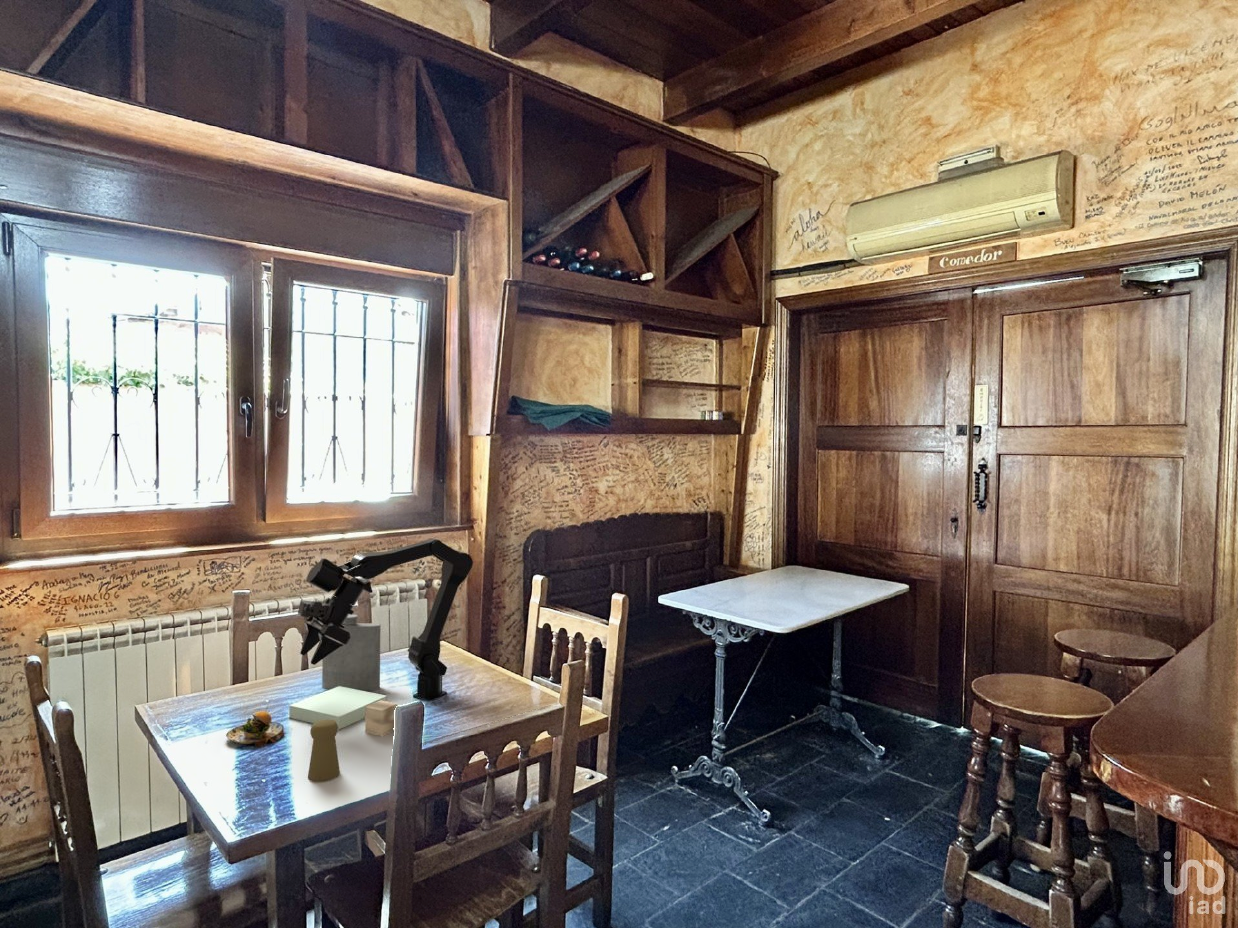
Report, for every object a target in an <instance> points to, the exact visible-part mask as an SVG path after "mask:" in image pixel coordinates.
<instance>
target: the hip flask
mask: <svg viewBox="0 0 1238 928" xmlns="http://www.w3.org/2000/svg"><path fill="white" fill-rule="evenodd" d="M358 619H359V618H358V614H354V613H353V614H352V615H351V614H349V615H348V617H347V618H346V620H345V621H344V623H343V626H345V627H344V629H345V630H347V631H348V632H349V633H350V636H351V638H350V640H349V641H348V643H347V645H346V644H343V643H342V644H343V646H342V647H339V648H338V649H336V650H335V651H333V652H332V653H330V654H329V655H328V656H326V657H325V658H323V659H322V660H321V661H322V663H321V664H322V665H321V666H322V667H321V668H322V669H321V670H322V673H321V674H322V675H321V676H322V677H321V679H322V680H321V685H322V686H321V688H323V689H328V690H331V689H333V688H336V687H338V686H341V687H346V688H351V689H356V690H361V691H377V690H379V689H380V688H381V623H377V622H376V623H367V622H365V623H364V622H362V623H361V622H358ZM357 622H358V623H357Z"/></svg>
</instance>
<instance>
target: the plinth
mask: <svg viewBox="0 0 1238 928" xmlns="http://www.w3.org/2000/svg"><path fill="white" fill-rule="evenodd" d="M380 700H382V701H386V702H388V696H387V695H384V694H379V693H375V692H371V691H370V692H369V691H367V690H356V689H351V688H346V687H341V686H338V687H336V688H333V689H328V690H326V691H323V692H321V693H317V694H315V695H313V696H310V697H307V698H305V699H302V700H300V701H296V702H294V703H292V704H289V706H288V707H289V709H288V710H289V715H288V718H290V719H293V720H298V721H302V722H306V723H311V724H314V723H315V722H317V721H319V720H324V719H331V720H334V721H336V723H337V724H338V730H342V729H343V728H346V727H347V726H350V725H352V724H354V723H356V722H358V721H361V720H362V719H365V707H366V706H369V705H371V704H373V703H376V702H378V701H380Z"/></svg>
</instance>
